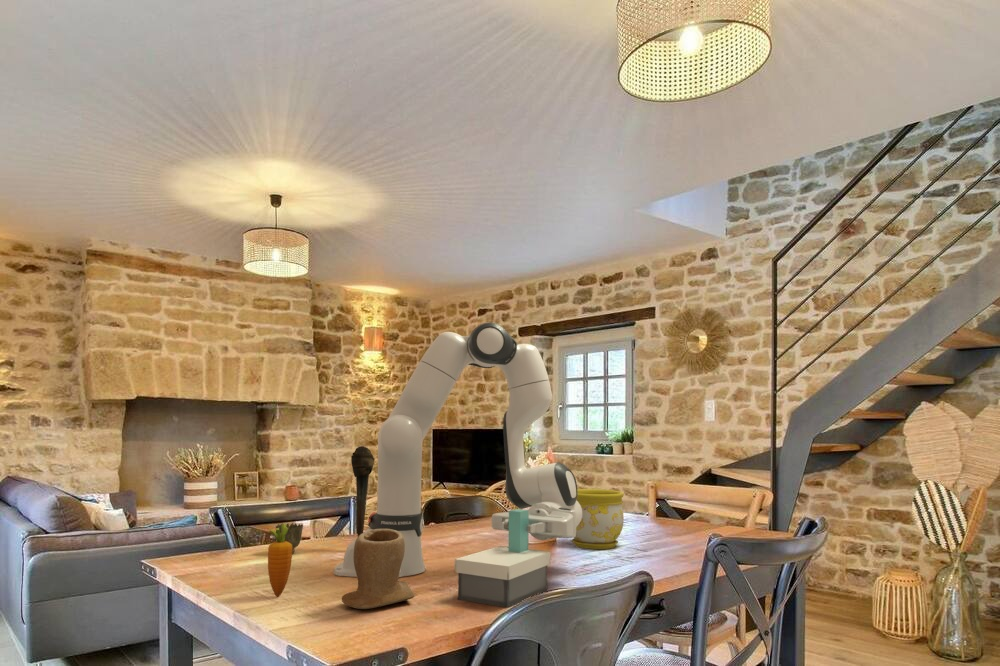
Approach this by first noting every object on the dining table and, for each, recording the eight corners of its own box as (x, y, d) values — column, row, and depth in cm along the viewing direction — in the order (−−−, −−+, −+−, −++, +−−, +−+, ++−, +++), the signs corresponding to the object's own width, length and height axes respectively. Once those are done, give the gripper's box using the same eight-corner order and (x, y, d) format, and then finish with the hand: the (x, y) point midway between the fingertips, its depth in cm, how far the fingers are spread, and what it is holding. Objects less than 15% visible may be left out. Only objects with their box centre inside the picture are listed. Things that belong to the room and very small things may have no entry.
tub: (507, 607, 137) (507, 572, 137) (458, 599, 143) (458, 565, 144) (546, 589, 152) (546, 557, 153) (501, 582, 158) (501, 552, 159)
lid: (508, 580, 136) (509, 520, 138) (454, 572, 143) (455, 515, 145) (550, 563, 153) (550, 511, 154) (500, 557, 159) (501, 506, 161)
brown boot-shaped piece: (363, 618, 128) (366, 537, 130) (334, 605, 137) (337, 529, 139) (428, 605, 138) (430, 529, 140) (397, 593, 147) (399, 523, 149)
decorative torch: (374, 552, 193) (378, 446, 197) (351, 554, 190) (356, 446, 194) (366, 548, 199) (369, 445, 203) (343, 550, 195) (348, 446, 199)
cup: (296, 556, 186) (298, 526, 187) (270, 556, 186) (271, 526, 187) (304, 551, 193) (306, 523, 194) (279, 551, 193) (280, 522, 194)
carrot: (276, 601, 139) (280, 526, 141) (260, 597, 142) (264, 524, 144) (295, 596, 144) (298, 524, 146) (279, 592, 146) (283, 522, 148)
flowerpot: (554, 546, 206) (555, 491, 208) (582, 538, 221) (582, 487, 223) (608, 553, 196) (608, 496, 198) (633, 545, 211) (633, 491, 213)
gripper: (507, 504, 171) (478, 510, 160) (581, 510, 161) (556, 517, 149) (507, 530, 170) (478, 537, 159) (581, 537, 160) (556, 546, 148)
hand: (516, 527), depth 154 cm, fingers open, 5 cm apart
